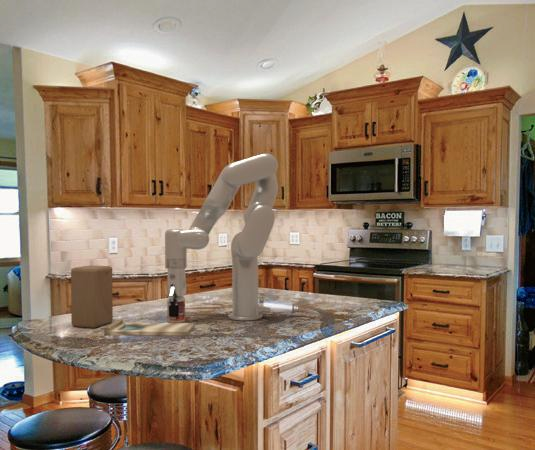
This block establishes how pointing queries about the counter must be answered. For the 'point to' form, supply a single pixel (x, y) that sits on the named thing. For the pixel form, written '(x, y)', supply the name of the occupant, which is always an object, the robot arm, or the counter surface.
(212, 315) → the counter surface
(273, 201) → the robot arm
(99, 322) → the wooden block
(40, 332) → the counter surface
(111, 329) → the board
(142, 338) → the counter surface
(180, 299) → the pill bottle
